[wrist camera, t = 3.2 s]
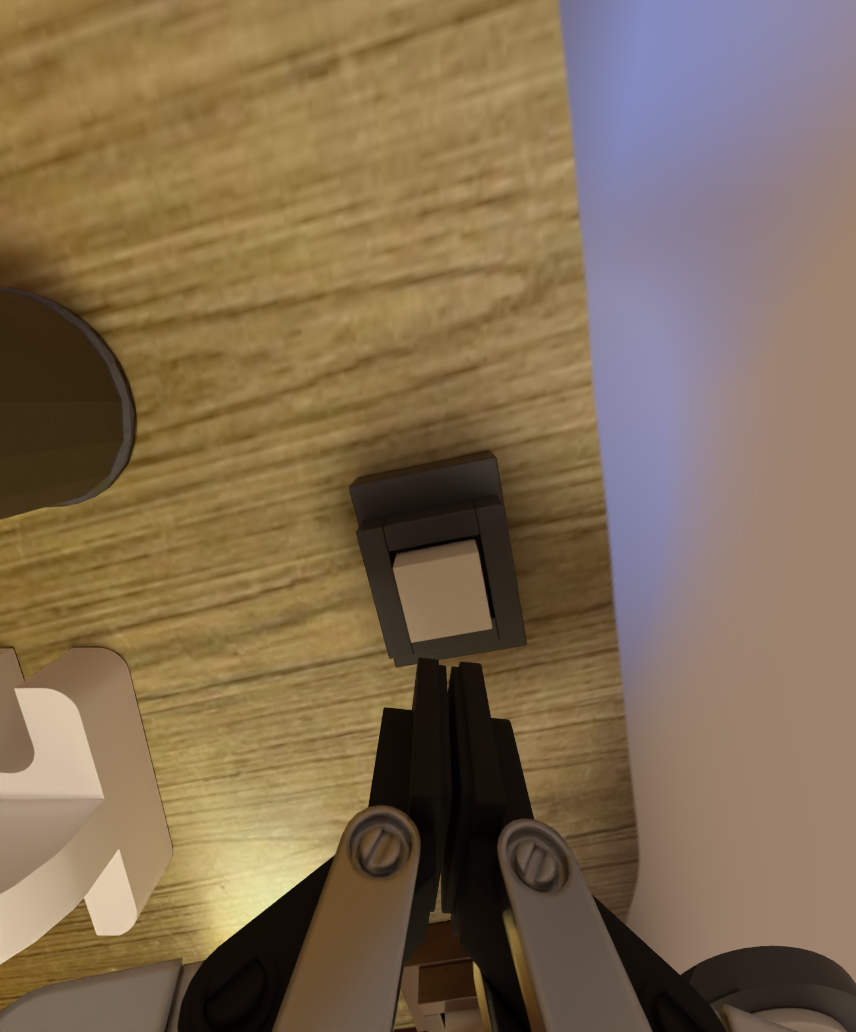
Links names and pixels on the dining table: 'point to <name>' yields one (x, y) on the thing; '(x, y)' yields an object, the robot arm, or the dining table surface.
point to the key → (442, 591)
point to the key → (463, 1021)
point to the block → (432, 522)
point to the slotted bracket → (75, 798)
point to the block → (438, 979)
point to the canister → (57, 407)
